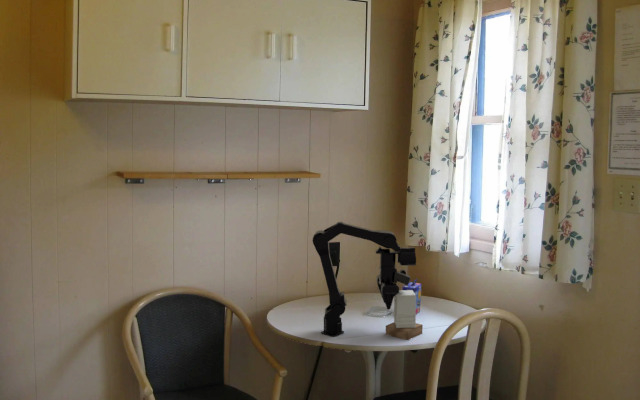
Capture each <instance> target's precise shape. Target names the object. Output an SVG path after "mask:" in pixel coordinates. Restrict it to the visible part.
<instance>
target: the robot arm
mask: <svg viewBox="0 0 640 400" xmlns="http://www.w3.org/2000/svg"><path fill="white" fill-rule="evenodd" d="M341 234H342V235H346V236H351V237H355V238H359V239H362V240H367V241H370V242H372V243H374V244H377V245H378V248H377V249H375V251H374V252H375V254H377V255H378V254H380V255H379V256H380V257H379V258H380V260H379V267H378V268H379V269H378V270H379V274H378V275H377V276H376V280H375V281H376V284H377V287H378V290H379V292H380V295H381V298H382V300H383V303H384V304H385V308H386V309H387V310H391V308H392V304H393V302H394V296H395V295H396V294H398V293H399V290H400V286H399V285H398V284H397V283H398V282H399V283H401V284H404V286H405V285H408V284H409V283H410V282H411V279H412V277H411V276H410V275H409V274H407V271H406V270H405V269H400V270H399V271H398V269H397V268H396V261H397V263H399V265H400V266H409V267H410V266H413V267H414V266H416V265H417V256H416V248H415V246H414V247H413V246H410V247H401V246H400V244H398V242H397V241H398V240H397V237H396V235H395V233H394V232H392V231H390V230H383V229H381V230H378V229H377V230H376V229H369V228H365V227H361V226H357V225H353V224H349V223H346V222H343V221H337V222H336V223H334V224H332V225H331V226H329V227H326V228H325V229H324V230H317V231H316V232H315V233H314V234H313V235H312V236H313V237H312V244H313V246H314V248H315V251H316V252H317V255H318V257H319V258H320V263H321V267H322V269H323V273H324V274H323V275H324V278H325V282H326V286H327V290H328V295H329V296H328V298H329V299H328V300H329V305H328V306H327V307H326V308H324V309H325V310H324V316H323V330H322V331H320V333H321V334H322V333H323V335H326V334H327V335H326V336H329V335H330V337H336V336H339V335H343V334H345V331H344V330H343V322H342V317H341V316H342V315H343V314H344V313H345V311H346V306H348V304H347V303H348V302H347V301H348V300H347V299H346V298H345V296H346V295H345V291H341V290H340V288H339V286H338V281H337V278H336V273H335V270H334V267H333V263H332V257H331V254H330V242H331V240H332V241H333V239H335V238H336V237H338V236H339V235H341ZM390 249H391V250H390Z"/></svg>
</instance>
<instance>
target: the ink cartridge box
mask: <svg viewBox="0 0 640 400" xmlns="http://www.w3.org/2000/svg"><path fill="white" fill-rule="evenodd" d="M417 280H418V279H417V278H416V279H415V280H414V281H413V282H411V281H409V284H408V285H405V284H404V285H403V286H402V290H413V292H414V293H415V295H416V315H417V314H418V313H420V312H421V306H422V305H421V301H422V283H419V282H417Z"/></svg>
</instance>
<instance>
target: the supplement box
mask: <svg viewBox="0 0 640 400" xmlns="http://www.w3.org/2000/svg"><path fill="white" fill-rule="evenodd" d="M393 303H394V304H393V306H394V307H393V311H394V313H393V314H394V315H393V322H395V325H396V327H397V328H415V327H416V323H417V322H416V320H417V318H416V315H417V314H416V295H415V293H414V292H413V290H403V289H402V290H400V289H399V293H398V294H396V295H395V296H394V298H393Z"/></svg>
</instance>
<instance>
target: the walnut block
mask: <svg viewBox="0 0 640 400" xmlns="http://www.w3.org/2000/svg"><path fill="white" fill-rule="evenodd" d="M423 328H424V327H423V324H420V323H418V322H416V327H415V328H397V327H396V325H395V322H394V321H393V322H391V323H389V324H387V325H385V335H386V336H389V337H394V338H398V339H401V340H402V339H403V340H406V341H410V340H411V338H412V339H413V338H416V337H418V336H420V335H422V334H423V330H424V329H423Z"/></svg>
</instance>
